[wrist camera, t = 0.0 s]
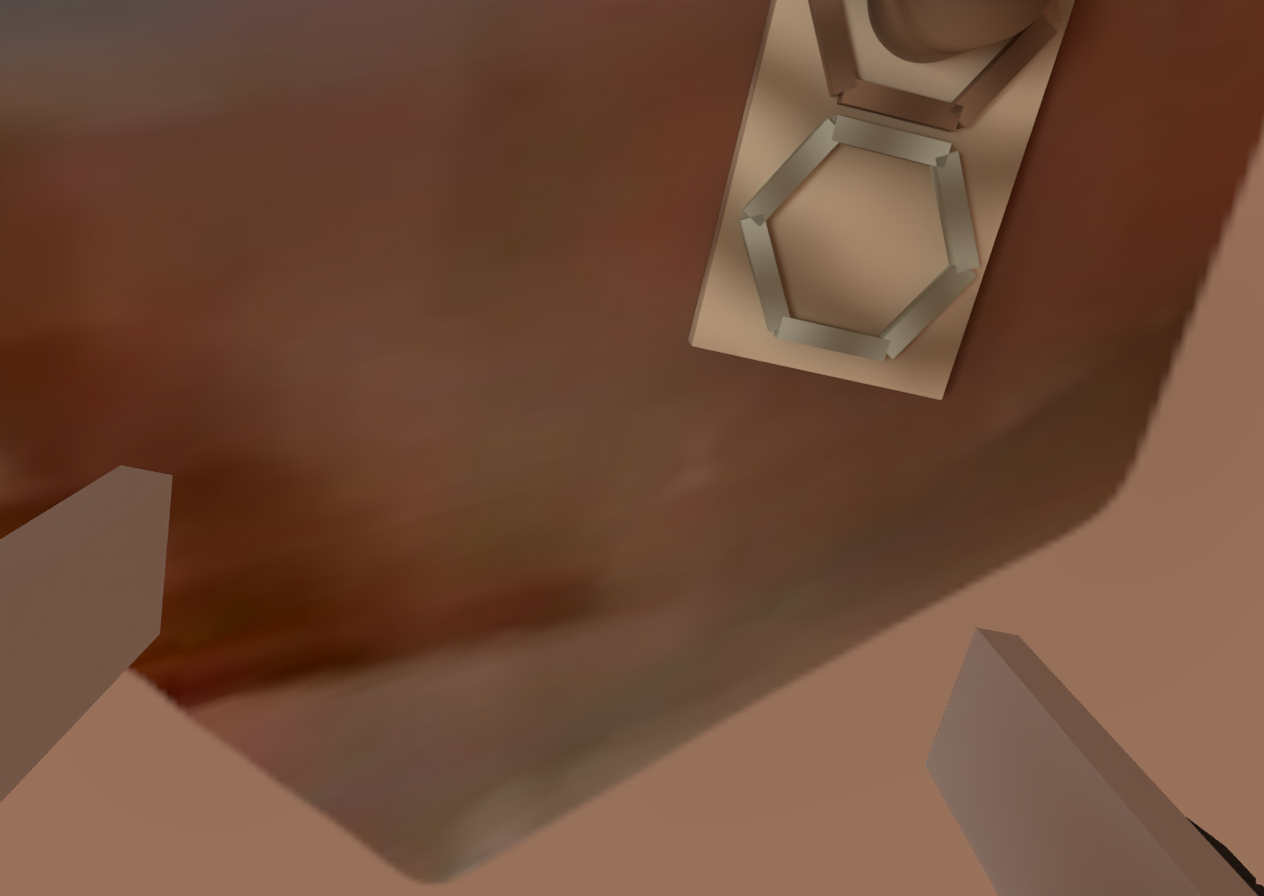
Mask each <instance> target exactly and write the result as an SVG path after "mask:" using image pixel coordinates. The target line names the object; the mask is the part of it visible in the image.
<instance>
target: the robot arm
mask: <svg viewBox="0 0 1264 896" xmlns="http://www.w3.org/2000/svg"><path fill="white" fill-rule="evenodd" d="M171 487H172V475H168V474H162V473H157V472H152V471H147V470H141V469H136V468H131V467H126V466H119V467H117V468H116V469H114V470H113V471H111V472H109V473H108V474H106V475H104V476H103V477H101V478H100V479H98V480H96V481H95V482H93V483H91V484H90V485H88V486H87V487H85V488H83V489H82V490H80V491H78V492H77V493H75V494H74V495H72V496H70V497H69V498H67V499H65V500H64V501H62V502H61V503H59V504H57V505H56V506H54V507H53V508H51V509H49V510H48V511H46V512H44V513H43V514H41V515H40V516H38V517H36V518H35V519H33V520H31V521H30V522H28V523H27V524H25V525H23V526H22V527H20V528H18V529H17V530H15V531H14V532H12V533H10V534H9V535H7V536H5V537H4V538H2V539H1V540H0V802H1V801H2V800H3V799H4V798H5V797H6V796H7V795H8V794H9V793H10V792H11V791H12V790H13V789H14V788H15V787H16V785H17V784H18V783H19V782H20V781H21V780H22V779H23V778H24V777H25V776H26V775H27V774H28V773H29V771H30V770H32V768H33V767H34V766H35V765H36V764H37V763H38V762H39V761H40V760H41V759H42V758H43V757H44V756H45V755H46V754H47V753H48V752H49V750H50V749H51V748H52V747H53V746H54V745H55V744H56V743H57V742H58V741H59V740H60V739H61V738H62V737H63V736H64V734H66V732H67V731H68V730H69V729H70V728H71V727H72V726H73V725H74V724H75V723H76V722H77V721H78V720H79V719H80V718H81V717H82V715H83V714H84V713H85V712H86V711H87V710H88V709H89V708H90V707H91V706H92V705H93V704H94V703H95V702H96V701H97V700H98V699H99V697H100V696H101V695H102V694H103V693H104V692H105V691H106V690H107V689H108V688H109V687H110V686H111V685H112V684H113V683H114V682H115V681H116V679H117V678H118V677H119V676H120V675H121V674H122V673H123V672H124V671H125V670H126V669H127V668H128V667H129V666H130V665H131V664H132V663H133V661H134V660H135V659H136V658H137V657H138V656H139V655H140V654H141V653H142V652H143V651H144V650H145V649H146V648H147V647H148V646H149V644H150V643H151V642H152V641H153V640H154V639H155V638H156V637H157V636H158V635H159V634H160V624H161V611H162V599H163V587H164V574H165V562H166V549H167V537H168V525H169V512H170V500H171ZM925 766H926V767H927V769H928V771H929V773H930V774H931V776H932V778H933V780H934V782H935V784H936V785H937V787H938V789H939V791H940V792H941V794H942V796H943V798H944V800H945V801H946V803H947V805H948V807H949V808H950V810H951V812H952V814H953V816H954V817H955V819H956V821H957V823H958V824H959V826H960V828H961V830H962V832H963V833H964V835H965V837H966V838H967V841H968V842H969V844H970V846H971V848H972V849H973V851H974V853H975V855H976V856H977V858H978V860H979V862H980V864H981V865H982V867H983V869H984V871H985V873H986V874H987V876H988V878H989V880H990V881H991V883H992V885H993V887H994V889H995V890H996V892H997V894H998V896H1264V887H1263V886H1262V885H1258V884H1256V878H1255V877H1254V876H1253V875H1252V874H1251V873H1250V872H1249V871H1248V870H1247V869H1246V868H1245V867H1244V866H1243V864H1242V863H1241V862H1240V861H1239V860H1238V859H1237V858H1236V857H1235V856H1234V855H1233V854H1232V853H1231V852H1230V851H1229V850H1228V848H1226V847H1225V846H1224V845H1223V844H1221V843H1220V842H1219V841H1217V840H1216V839H1215V838H1214V837H1212V836H1211V835H1209V834H1208V833H1207V832H1205V831H1204V830H1203V829H1201V828H1200V827H1199V826H1198V825H1196V824H1195V823H1194V822H1192V821H1191V820H1190V819H1188V818H1187V817H1185V816H1184V815H1183V814H1182V813H1181V812H1180V811H1179V809H1178V808H1177V807H1176V806H1175V805H1174V804H1173V803H1172V802H1171V801H1170V800H1169V799H1168V797H1167V796H1166V795H1165V794H1164V793H1163V792H1162V791H1161V790H1160V789H1159V788H1158V787H1157V786H1156V784H1155V783H1154V782H1153V781H1152V780H1151V779H1150V778H1149V777H1148V776H1147V775H1146V774H1145V772H1143V770H1142V769H1141V768H1140V767H1139V766H1138V765H1137V764H1136V763H1135V762H1134V761H1133V759H1132V758H1131V757H1130V756H1129V755H1128V754H1127V753H1126V752H1125V751H1124V750H1123V749H1122V748H1121V746H1120V745H1119V744H1118V743H1117V742H1116V741H1115V740H1114V739H1113V738H1112V737H1111V736H1110V734H1109V733H1108V732H1107V731H1106V730H1105V729H1104V728H1103V727H1102V726H1101V725H1100V724H1099V723H1098V721H1097V720H1096V719H1095V718H1094V717H1093V716H1092V715H1091V714H1090V713H1089V712H1088V711H1087V709H1086V708H1085V707H1084V706H1083V705H1082V704H1081V703H1080V702H1079V701H1078V700H1077V699H1076V698H1075V697H1074V695H1072V693H1071V692H1070V691H1069V690H1068V689H1067V688H1066V687H1065V686H1064V685H1063V684H1062V682H1061V681H1060V680H1059V679H1058V678H1057V677H1056V676H1055V675H1054V674H1053V673H1052V672H1051V671H1050V669H1049V668H1048V667H1047V666H1046V665H1045V664H1044V663H1043V662H1042V661H1041V660H1040V659H1039V657H1038V656H1037V655H1036V654H1035V653H1034V652H1033V651H1032V650H1031V649H1030V648H1029V647H1028V645H1027V644H1026V643H1025V642H1024V641H1023V640H1022V639H1021V638H1020V637H1019V636H1018V635H1012V634H1006V633H1002V632H997V631H991V630H986V629H981V628H976V629H975V632H974V635H973V637H972V640H971V643H970V646H969V648H968V651H967V653H966V656H965V659H964V661H963V664H962V667H961V670H960V672H959V675H958V678H957V680H956V683H955V685H954V688H953V691H952V694H951V696H950V699H949V701H948V704H947V707H946V710H945V712H944V715H943V718H942V720H941V723H940V726H939V728H938V731H937V734H936V736H935V739H934V742H933V744H932V747H931V750H930V752H929V755H928V758H927V760H926V763H925Z"/></svg>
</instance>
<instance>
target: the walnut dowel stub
mask: <svg viewBox="0 0 1264 896" xmlns="http://www.w3.org/2000/svg"><path fill="white" fill-rule="evenodd" d="M1049 2H1050V0H867V9H868V16H869V20H870V23H871V26H872V29H873V31H874V33H875V35H876V37H877V38H878V40H879V41H880V43H881V44H882V45H883V46H884V47H885V48H886V49H887V50H888V51H889V52H890V53H892V54H893V55H895V56H896V57H898V58H900V59H902V60H905V61H908V62H913V63H932V62H936V61H940V60H943V59H946V58H949V57H952V56H955V55H959V54H962V53H965V52H968V51H971V50H974V49H977V48H980V47H983V46H986V45H989V44H992V43H995V42H998V41H1001V40H1004V39H1007V38H1009V37H1012V36H1014V35H1016V34H1017V33H1019V32H1021V31H1022V30H1024V29H1025V28H1026V27H1028V26H1029V25H1030V24H1031V23H1032V22H1034V21H1035V20H1036V19H1037V18H1038V16H1039V15H1040V14H1041V13H1042V12H1043V11H1044V9H1045V8H1046V6H1047V5H1048V3H1049Z"/></svg>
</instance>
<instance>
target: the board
mask: <svg viewBox="0 0 1264 896" xmlns="http://www.w3.org/2000/svg"><path fill="white" fill-rule="evenodd" d="M1074 2H1075V0H1050V2H1049V3H1048V5H1047V6H1046V8H1045V9H1044V11H1043V12H1042V13H1041V14H1040V15H1039V16H1038V18H1037V19H1036V20H1035V21H1034V22H1032V23H1031V24H1030V25H1029V26H1028V27H1026V28H1025V29H1024V30H1022V31H1021V32H1019V33H1017V34H1016V35H1014V36H1012V37H1009V38H1007V39H1004V40H1001V41H998V42H995V43H992V44H989V45H986V46H983V47H980V48H977V49H974V50H971V51H968V52H965V53H962V54H959V55H955V56H952V57H949V58H946V59H943V60H940V61H936V62H932V63H913V62H908V61H905V60H902V59H900V58H898V57H896V56H895V55H893V54H892V53H890V52H889V51H888V50H887V49H886V48H885V47H884V46H883V45H882V44H881V43H880V41H879V40H878V38H877V37H876V35H875V33H874V31H873V29H872V26H871V23H870V20H869V16H868V9H867V0H771V4H770V9H769V13H768V17H767V21H766V25H765V29H764V33H763V37H762V41H761V45H760V49H759V53H758V57H757V62H756V66H755V70H754V74H753V78H752V82H751V86H750V90H749V94H748V98H747V102H746V106H745V110H744V115H743V119H742V123H741V127H740V131H739V135H738V139H737V143H736V147H735V151H734V155H733V159H732V164H731V168H730V172H729V176H728V180H727V184H726V188H725V192H724V196H723V200H722V204H721V208H720V212H719V217H718V221H717V225H716V229H715V233H714V237H713V241H712V245H711V249H710V253H709V257H708V261H707V265H706V270H705V274H704V278H703V282H702V286H701V290H700V294H699V298H698V302H697V306H696V310H695V314H694V319H693V323H692V327H691V331H690V335H689V339H688V340H689V342H690V344H691V346H694V347H699V348H704V349H708V350H713V351H717V352H722V353H727V354H731V355H736V356H740V357H745V358H750V359H754V360H759V361H763V362H768V363H773V364H777V365H782V366H787V367H791V368H796V369H800V370H805V371H810V372H814V373H819V374H823V375H828V376H833V377H837V378H842V379H846V380H851V381H856V382H860V383H865V384H869V385H874V386H879V387H883V388H888V389H892V390H897V391H902V392H906V393H911V394H916V395H920V396H925V397H929V398H934V399H939V400H942V397H943V394H944V391H945V388H946V385H947V382H948V379H949V376H950V373H951V370H952V367H953V364H954V361H955V358H956V355H957V352H958V349H959V346H960V343H961V340H962V337H963V334H964V331H965V328H966V325H967V322H968V319H969V316H970V313H971V310H972V307H973V304H974V302H975V299H976V296H977V293H978V290H979V287H980V284H981V281H982V278H983V275H984V272H985V269H986V266H987V263H988V260H989V257H990V254H991V251H992V248H993V245H994V242H995V239H996V236H997V233H998V230H999V227H1000V224H1001V221H1002V218H1003V215H1004V212H1005V209H1006V206H1007V203H1008V200H1009V197H1010V194H1011V191H1012V188H1013V185H1014V182H1015V179H1016V176H1017V173H1018V170H1019V167H1020V164H1021V161H1022V158H1023V155H1024V152H1025V149H1026V146H1027V143H1028V140H1029V137H1030V134H1031V131H1032V128H1033V125H1034V122H1035V119H1036V116H1037V113H1038V110H1039V107H1040V104H1041V101H1042V98H1043V95H1044V92H1045V89H1046V86H1047V83H1048V80H1049V77H1050V74H1051V71H1052V68H1053V65H1054V62H1055V59H1056V56H1057V53H1058V50H1059V47H1060V44H1061V41H1062V38H1063V35H1064V32H1065V29H1066V26H1067V23H1068V20H1069V17H1070V14H1071V11H1072V8H1073V5H1074Z"/></svg>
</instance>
